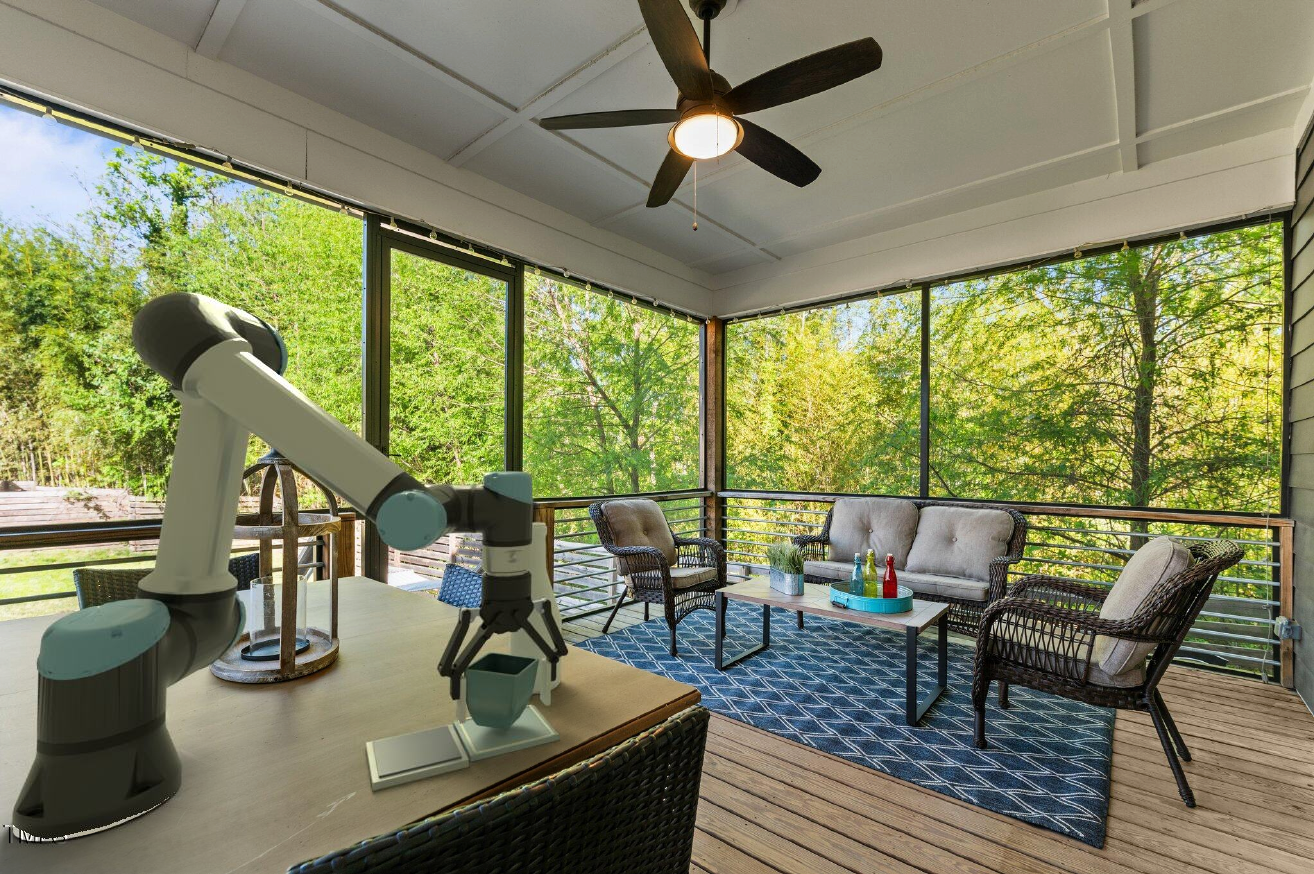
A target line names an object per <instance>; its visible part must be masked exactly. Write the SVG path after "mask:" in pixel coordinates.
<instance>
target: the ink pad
mask: <svg viewBox="0 0 1314 874" xmlns="http://www.w3.org/2000/svg"><path fill="white" fill-rule="evenodd" d="M365 752H366V759H367V765H368V770H369V777H370V784H371V788H372V789H371V790H372V791H378V790H381V789H382V790H383V789H386V788H389V787H390V788H391V787H394V786H398V785H402V784H406V783H409V782H414V781H417V780H422V779H425V778H431V777H434V776H437V775H442V774H447V773H450V772H453V771H454V772H455V771H457V770H461V769H465V768H469V767H470V760H469V758H468V756H467V754H466V752H465V750H464V747H463V745H462V743H461V741H460V739H459V737H458V735H457V733H456V731H455V729H454V727H453V724H452V723H451V724H447V725H442V726H438V727H437V726H436V727H432V728H427V729H423V730H419V731H418V730H417V731H413V732H409V733H405V734H399V735H394V736H390V737H385V738H381V739H377V740H371V741H367V742H365Z"/></svg>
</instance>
